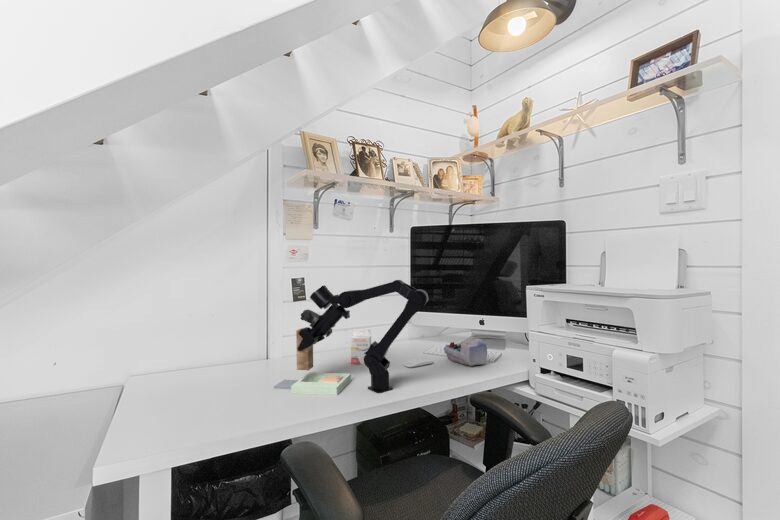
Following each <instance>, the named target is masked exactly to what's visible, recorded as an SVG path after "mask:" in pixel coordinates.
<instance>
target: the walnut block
mask: <svg viewBox="0 0 780 520" xmlns="http://www.w3.org/2000/svg"><path fill="white" fill-rule="evenodd" d="M303 328H304V327H303ZM303 328H298V329H296V330H295V331H296V332H295V333H296V334H295V335H296V346H295V347H296V371H310V370H311V369H313V368H314V345H312V346H309V347H307V348H305V349H303V350H301V351H299V350H298V347H299V345H300V343H301V341H302V339H303V338H302V337H301V336H300V335H299V333H298V332H299V331H300V330H301V329H303Z"/></svg>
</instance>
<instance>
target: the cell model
mask: <svg viewBox="0 0 780 520" xmlns="http://www.w3.org/2000/svg"><path fill="white" fill-rule="evenodd" d="M443 351H444V352H443V353H444V354H446V358H447V359H448V360H449V361H452V362H453V363H460V364H461V365H464V366H469V367H473V366H476V365H477V366H478V365H486V363H487V357H488V347H487V344H486V343H485V342H484V341H483V340H482V339H481V338H475V339H471V340H470V341H465V342H460V343H455V342H454V341H452V342H450V343H449V344H445V346H444V347H443Z"/></svg>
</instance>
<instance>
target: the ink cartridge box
mask: <svg viewBox="0 0 780 520" xmlns="http://www.w3.org/2000/svg"><path fill="white" fill-rule="evenodd" d="M371 330H372V329H371V328H353V329H352V336H351V337H350V364H351V365H365V363H364V356H365V355H366V354H364V353H365V352H366V351H367V350H368V349H369V347H370V345H371V344H372V334H371V332H372V331H371ZM361 331H362V332H361Z"/></svg>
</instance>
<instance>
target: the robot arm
mask: <svg viewBox="0 0 780 520" xmlns="http://www.w3.org/2000/svg"><path fill="white" fill-rule="evenodd" d="M393 293H398V294H399V295H400V296H402V297H403V298H404V299H406V300H407V301H406V303H405V305H404V308H403V310H402V312H401V313H400V314H399V316H397V319H395V321H394V323H392V325H391V326H390V328H388V329H387V332H386V333H385V334H384V335H383V337H382V338H381V340H380V341H379V342H377V341H376V340H374V341H373V342H371V345H370V347H369V349H368V350H367V351H366V352H365V353H364V354H366V355H365V356H364V363H365V364H364V365H365V366H366V368H368V372H369V374H370V385H369V386H367V389H368V390H370V391H372V392H375V393H377V394H379V393H384V392H386V391H387V392H388V391H391V390H393V389H394V388H393V387H392V386H390V372H389V370H388V369H389V368H390V365H391V362H390V360H388V359H387V358H386V355H387V353H388V352H389V349H390V346H391V345H392V344H393V342H395V340H396V338H397V337H398V336H399V335H400V334H401V332H402V331H403V329H405V327H406V325H407V324H408V322H409V321H410V320H411V319H412V317H414V315H416V314H417V313H418V312H419V311H420V310H421V309H423V307H424V306H425V305H426V304H427V303H428V302H429V295H428V292H427V291H426V290H424V289H421V288H420V289H417V288H416V287H414V286H411V284H407V283H406V282H404V281H403V280H402V279H395V280H393V281H391V282H388V283H384V284H380V285H376V286H372V287H369V288H366V289H352V290H346V291H343V292H341V293H340V294H336V295H334V294H333V293H332V292H331V291H330V290H329V288H328V287H327V286H326V285H321V286H320V287H319V288H318V289H316V290H315V291H313V292H312V293H311V295H310V296H309V299H310V300H312V302H313V303H314V304H315V305H316V306H317V307H318V308H319V309H320V310H322V309H324V310H325V311H324V312H323V313H322V314H318V313H317V312H315V311H314V310H313V311H312V310H310V309H308V308H307V309H304V310H303V311H302V313H300V320H301V321H305V322H306V323H308V324H309V326H308V327H307V326H306V327H303V329H301V328H300V329H301V330H300V331H299V332H298V333H299V335H300V336H301V337H302V338H303V339H302V341H301V343H300V345H299V347H298V350H299V351H301V350H303V349H305V348H307V347H309V346H312V345H313V346H314V345H316V344H317V343H318V342H321V341H323V340H324V339H326V338H328V337H330V336H331V335H332V334H333V328H335V326H336V325H337V323H338V322H339V321H340V320H341V319H342V318H344V319H346V320H348V319H349V318H350V317H351V314H350V312H351V311H350V310H347V309H348V308H351V307H355V306H357V305H358V304H360V303H363V302H365V301H367V300H370V299H373V298H377V297H382V296H386V295H388V294H389V295H390V294H393Z"/></svg>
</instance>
